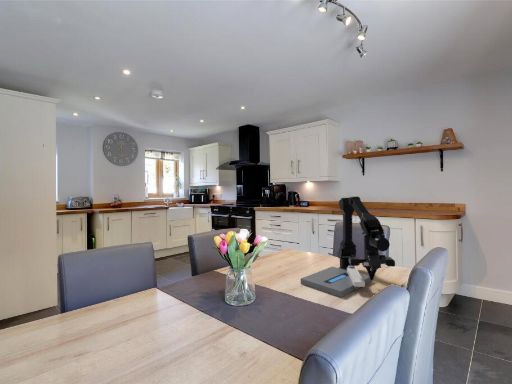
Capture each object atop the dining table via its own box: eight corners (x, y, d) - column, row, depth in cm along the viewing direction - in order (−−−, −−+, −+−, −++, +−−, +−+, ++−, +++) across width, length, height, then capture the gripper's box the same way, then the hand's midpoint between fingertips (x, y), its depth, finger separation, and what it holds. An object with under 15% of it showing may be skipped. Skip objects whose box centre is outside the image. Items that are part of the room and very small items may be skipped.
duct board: (300, 283, 130) (300, 278, 130) (332, 271, 147) (332, 266, 147) (341, 297, 113) (341, 291, 113) (371, 281, 130) (371, 276, 130)
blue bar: (327, 281, 127) (332, 282, 125) (342, 274, 135) (346, 276, 133) (327, 286, 127) (332, 287, 125) (342, 279, 135) (346, 280, 133)
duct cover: (346, 270, 139) (346, 265, 139) (355, 270, 138) (355, 265, 138) (354, 286, 117) (354, 280, 117) (365, 286, 117) (364, 280, 116)
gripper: (352, 250, 116) (353, 286, 117) (399, 250, 113) (399, 287, 114) (348, 244, 127) (348, 277, 128) (390, 244, 124) (391, 278, 125)
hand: (371, 280), depth 123 cm, fingers closed
